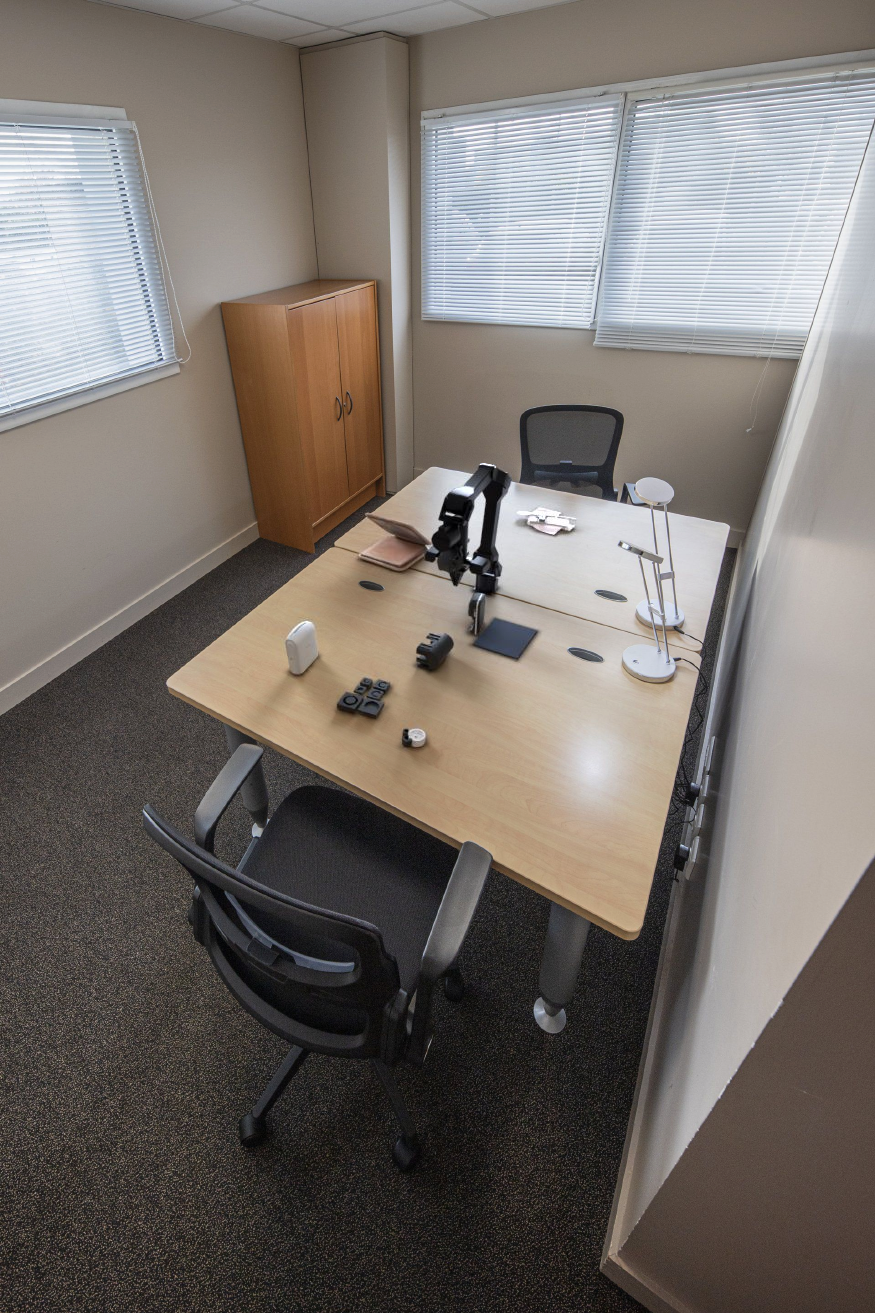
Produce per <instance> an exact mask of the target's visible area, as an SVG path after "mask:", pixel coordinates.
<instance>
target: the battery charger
mask: <svg viewBox="0 0 875 1313" xmlns="http://www.w3.org/2000/svg"><path fill="white" fill-rule="evenodd" d="M486 595H487V594H483V593H480V592H474V593H473V595H472V596H471V598H470V600H469V602H468V607H467V616H468V617H470V618H471V619H472V621H473V622H472V624H471V626H470V628H469V630H468V632H469V633H470V634H472V635H480V632H481V630H482V628H483V626H484V624H485V612H486V597H487V596H486Z"/></svg>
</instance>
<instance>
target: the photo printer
mask: <svg viewBox="0 0 875 1313" xmlns="http://www.w3.org/2000/svg"><path fill="white" fill-rule="evenodd" d="M315 627H316V626H315V625H314V623H313V622H311V621H308V620H305V621H302V622H300V623H299V624H297V625H296V626H295V627H294V628H293V629H292V630H291V631H290V632H289V633H288V635H287V637H286V639H285V641H284V645H285V650H286V651H285V652H286V656H287V661H288V667H289V671H290V672H291V673H292V674H294V675H301V674H303V673H304V672H305V671H306V670H307V669H308V668H309V667H310V666H311V665H312V664H313V663H314V661H315V660H316V659H317V658H318V656H319V650H318V642H317V633H316V628H315Z"/></svg>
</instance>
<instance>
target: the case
mask: <svg viewBox="0 0 875 1313" xmlns="http://www.w3.org/2000/svg"><path fill="white" fill-rule="evenodd" d="M364 515H365V516H366V518H367V519H368V520H369V521H371V522H372V523H374V524H375V525H377V526H378V527H380V528H381V529H382V530H384V531H385V532H386V533H388V534H390V535H388V536H385V537H382V538H381V539H380V540H378V541H376V542H375V543H373V544H372V545H370V546H368V547H367V548H366V549H364V550H362V551H361V552H359V553H358V558H359V559H361V560H363V561H366V562H369V563H371V564H375V565H378V566H380V567H383V568H387V569H389V570H392V571H395V572H404V571H407V570H408V569H409V568H410V567H412V566H413V565H414V564H416V563H417V562H419V561H420V560H421V559H422V558H423V559H424V553H425V552H426V551H427V550H428V549H429V548H430V547H429V546H432V542H431V540H430V539H428V538H427V537H426V536H425V535H424V534H422V532H420V531H419V530H418V529H417V528H415V526H413V525H412V524H410V523H406V522H403V521H400V520H396V519H393V518H390V517H385V516H381V515H378V514H374V513H370V512H366V513H365V514H364Z"/></svg>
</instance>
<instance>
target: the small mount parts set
mask: <svg viewBox="0 0 875 1313" xmlns="http://www.w3.org/2000/svg"><path fill="white" fill-rule="evenodd" d="M372 685H373V686H372ZM390 687H391V681H387V680H383V679H380V678H378V679H377V680H376V681H375V683H374V679H373V678H369V677H365V676H363V677H362V679H361V680H360V681H359V684H358V685H356V687H355V688H354V689H353V693H352V692H349V691H345V693H344V694H343V695H342V696H341V697H340V699H339V700H338V701H337V703H336V709H338V710H341V711H344V712H348V713H350V714H354V715H355V714H356V713H358V714H361V715H364V716H368V717H371V718H375V719H376V718H377V717H378V716H379V714H380V713H381V712H382V710H383V708H384V707H385V702H383V701H380V699H381V698H382V697H383V695H384V694H386V693H387V692H388V690H389V689H390ZM367 690H369V691H368V692H367V694H366V695H365V697H364V694H365V693H366V691H367ZM364 698H365V699H364ZM401 733H402V735H401V736H402V737H401V745H402V746H403V747H405V748H410V747H414V748H419V747H420V748H421V747H422V746H424V744H425V743H426V732H425V731H424V730H423V729H421V728H412V729H409V728H403V729H402V732H401Z"/></svg>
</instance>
